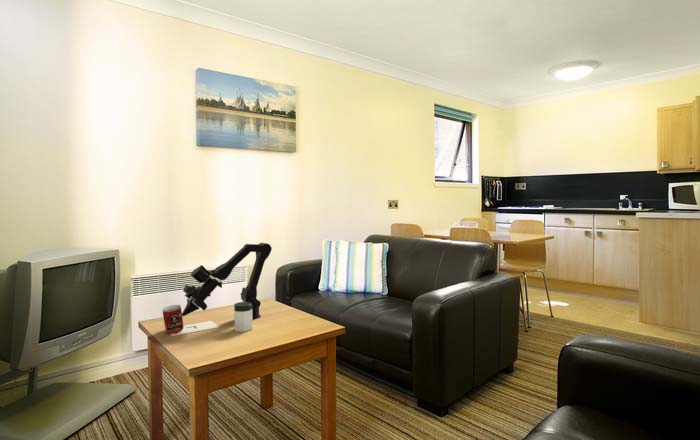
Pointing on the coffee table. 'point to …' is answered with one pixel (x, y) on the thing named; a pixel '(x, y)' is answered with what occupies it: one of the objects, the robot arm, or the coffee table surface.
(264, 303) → the coffee table surface
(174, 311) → the canned food
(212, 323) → the letter mat
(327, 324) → the coffee table surface
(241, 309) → the jar
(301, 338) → the coffee table surface
